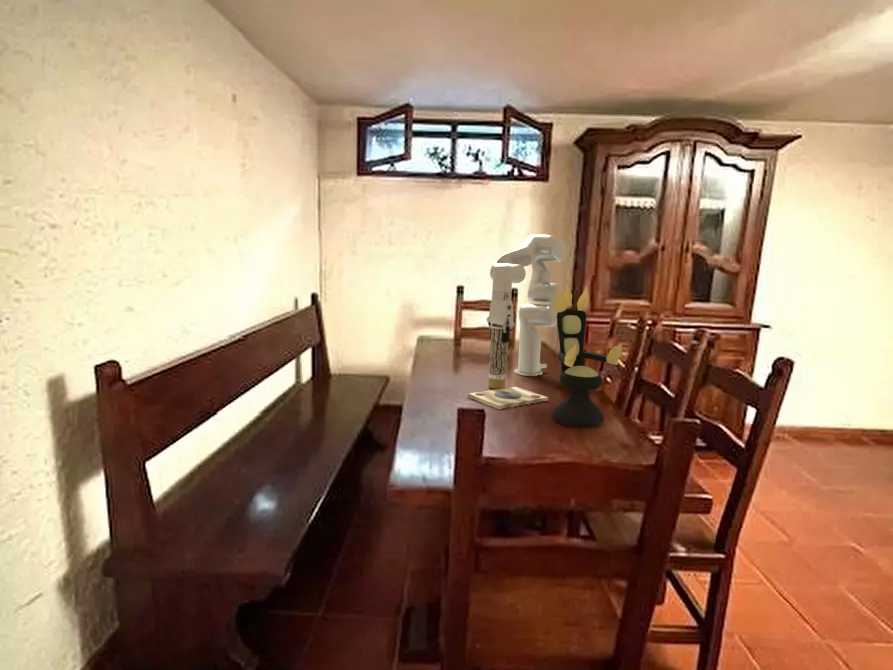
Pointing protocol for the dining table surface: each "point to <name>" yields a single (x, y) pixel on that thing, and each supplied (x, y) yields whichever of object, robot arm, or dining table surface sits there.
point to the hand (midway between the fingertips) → (499, 340)
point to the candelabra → (578, 363)
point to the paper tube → (497, 358)
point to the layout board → (507, 397)
